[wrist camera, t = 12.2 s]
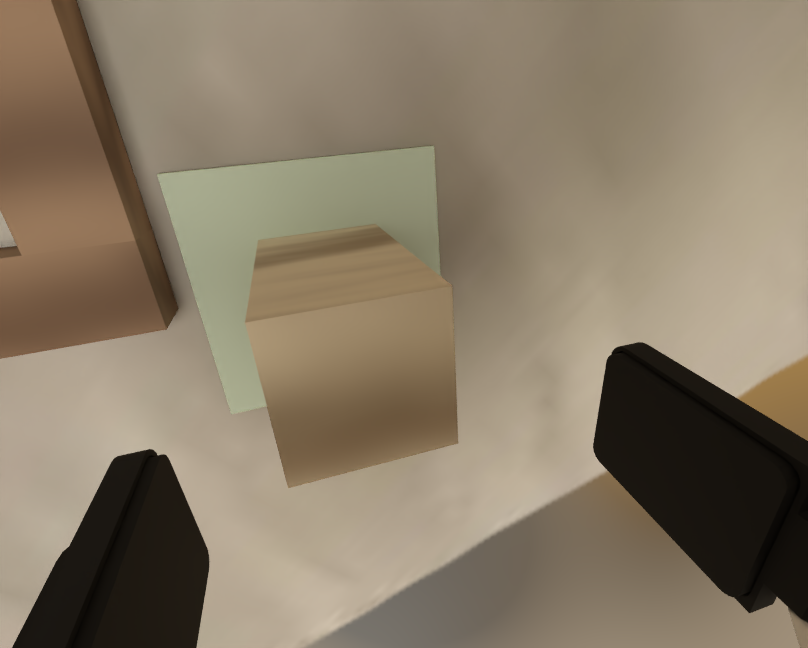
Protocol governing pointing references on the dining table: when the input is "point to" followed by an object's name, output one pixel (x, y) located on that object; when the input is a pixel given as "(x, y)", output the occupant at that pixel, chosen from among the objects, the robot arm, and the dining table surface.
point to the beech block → (351, 351)
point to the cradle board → (68, 194)
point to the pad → (287, 231)
